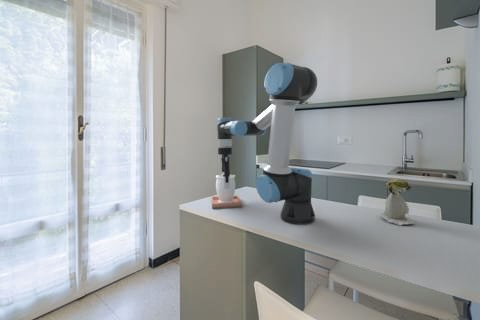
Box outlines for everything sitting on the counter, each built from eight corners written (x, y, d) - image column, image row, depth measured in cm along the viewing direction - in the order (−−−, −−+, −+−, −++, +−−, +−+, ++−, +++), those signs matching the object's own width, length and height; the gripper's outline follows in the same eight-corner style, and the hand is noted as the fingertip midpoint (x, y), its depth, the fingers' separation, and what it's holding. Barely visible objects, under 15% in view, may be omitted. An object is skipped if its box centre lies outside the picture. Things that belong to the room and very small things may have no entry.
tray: (241, 206, 131) (241, 202, 131) (212, 208, 129) (212, 203, 128) (238, 199, 145) (238, 195, 145) (211, 200, 143) (211, 196, 143)
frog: (384, 224, 105) (386, 181, 103) (377, 214, 117) (379, 176, 115) (417, 227, 101) (420, 183, 99) (406, 216, 113) (409, 177, 111)
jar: (213, 204, 134) (212, 176, 132) (220, 199, 143) (219, 173, 142) (231, 205, 130) (231, 177, 129) (237, 200, 140) (237, 174, 139)
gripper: (234, 148, 122) (235, 190, 124) (229, 145, 146) (230, 181, 148) (219, 148, 120) (220, 191, 123) (216, 146, 145) (217, 181, 147)
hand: (225, 185), depth 136 cm, fingers open, 13 cm apart
